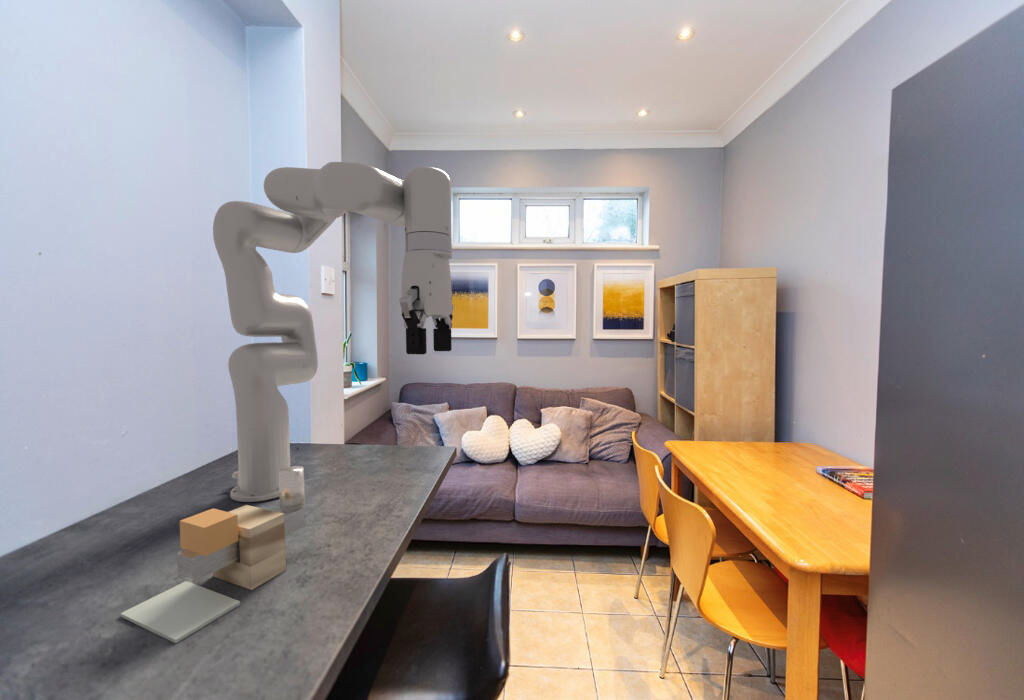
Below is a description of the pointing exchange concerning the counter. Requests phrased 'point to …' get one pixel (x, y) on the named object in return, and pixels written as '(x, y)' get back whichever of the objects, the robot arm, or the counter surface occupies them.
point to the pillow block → (257, 548)
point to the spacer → (208, 531)
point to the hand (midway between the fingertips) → (430, 352)
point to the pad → (180, 611)
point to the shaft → (200, 566)
